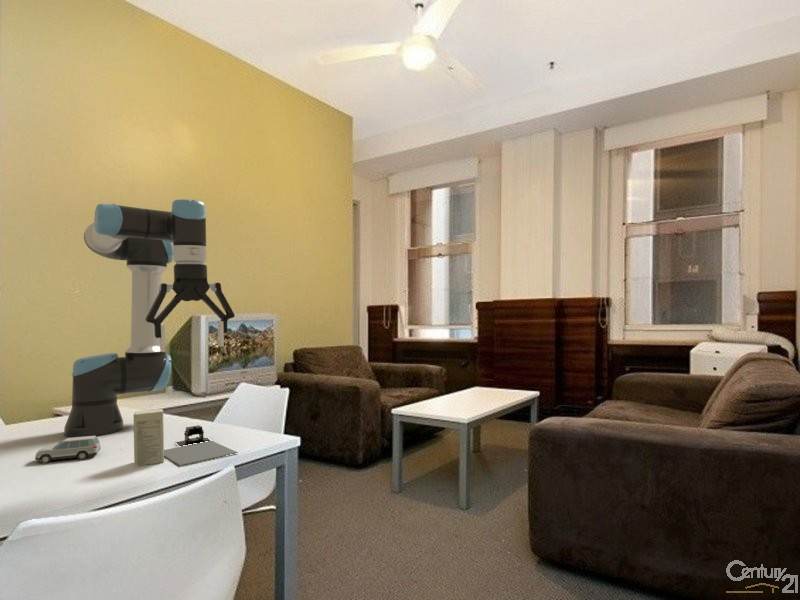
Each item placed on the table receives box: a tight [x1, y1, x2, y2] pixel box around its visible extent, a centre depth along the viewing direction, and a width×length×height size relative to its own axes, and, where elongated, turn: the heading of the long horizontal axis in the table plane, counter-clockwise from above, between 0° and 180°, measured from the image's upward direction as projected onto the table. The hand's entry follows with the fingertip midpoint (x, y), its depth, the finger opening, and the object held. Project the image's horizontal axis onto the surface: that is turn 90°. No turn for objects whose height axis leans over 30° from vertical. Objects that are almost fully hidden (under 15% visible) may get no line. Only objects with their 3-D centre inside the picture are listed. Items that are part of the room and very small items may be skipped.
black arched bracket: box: [175, 424, 210, 447], centre depth 130 cm, size 12×7×5 cm, turn 130°
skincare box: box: [133, 408, 165, 467], centre depth 112 cm, size 6×4×12 cm
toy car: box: [34, 435, 102, 464], centre depth 116 cm, size 6×13×5 cm, turn 111°
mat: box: [164, 440, 239, 468], centre depth 119 cm, size 16×14×1 cm
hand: (192, 348), depth 117 cm, fingers open, 13 cm apart
